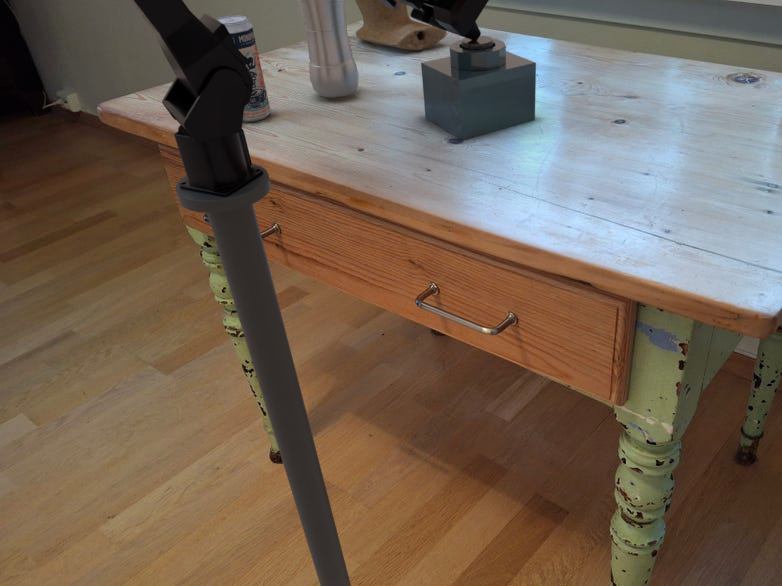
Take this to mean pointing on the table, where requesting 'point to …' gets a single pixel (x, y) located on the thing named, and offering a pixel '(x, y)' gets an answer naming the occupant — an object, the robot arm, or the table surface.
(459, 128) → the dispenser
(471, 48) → the grey push button
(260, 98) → the beer can
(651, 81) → the table surface
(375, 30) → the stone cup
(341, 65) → the plastic bottle
